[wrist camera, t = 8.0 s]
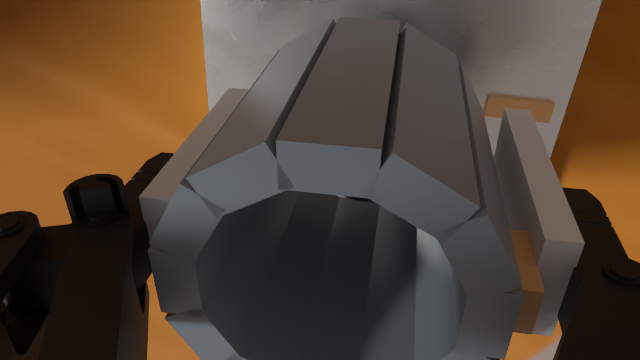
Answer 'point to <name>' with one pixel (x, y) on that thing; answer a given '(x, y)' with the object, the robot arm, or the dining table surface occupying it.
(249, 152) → the sleeve
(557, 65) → the square plate
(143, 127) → the dining table surface
